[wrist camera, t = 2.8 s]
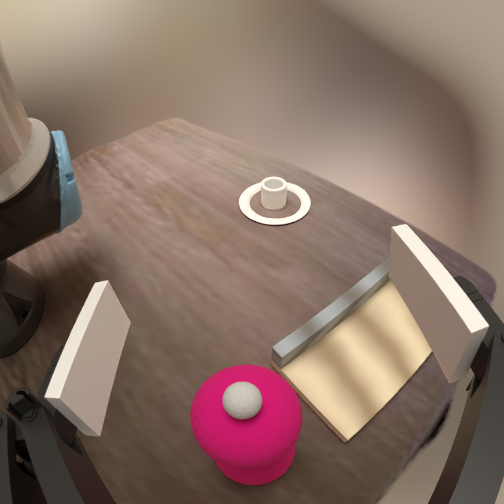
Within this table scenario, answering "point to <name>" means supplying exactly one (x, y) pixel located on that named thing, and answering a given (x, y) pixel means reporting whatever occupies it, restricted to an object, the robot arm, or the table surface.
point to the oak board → (353, 353)
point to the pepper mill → (248, 423)
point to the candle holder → (274, 200)
